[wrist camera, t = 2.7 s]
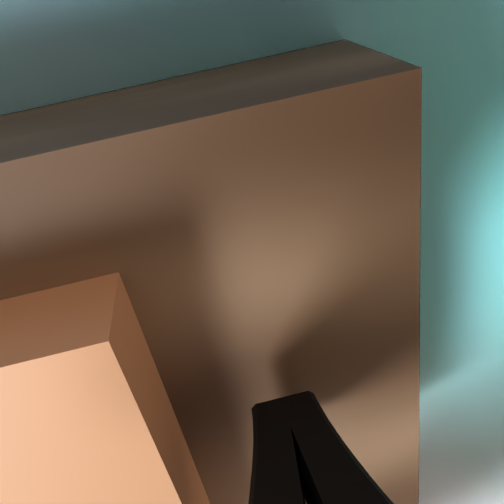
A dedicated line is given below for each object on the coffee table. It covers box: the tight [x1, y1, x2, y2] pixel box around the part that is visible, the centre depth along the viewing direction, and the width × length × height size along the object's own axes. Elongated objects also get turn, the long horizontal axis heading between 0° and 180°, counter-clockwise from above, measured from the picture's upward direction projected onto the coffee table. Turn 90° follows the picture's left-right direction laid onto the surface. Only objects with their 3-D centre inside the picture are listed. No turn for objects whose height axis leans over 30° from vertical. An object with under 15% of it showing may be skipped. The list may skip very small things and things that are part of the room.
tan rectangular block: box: [0, 272, 210, 504], centre depth 10 cm, size 9×6×2 cm, turn 10°
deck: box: [0, 40, 421, 504], centre depth 13 cm, size 14×16×4 cm
